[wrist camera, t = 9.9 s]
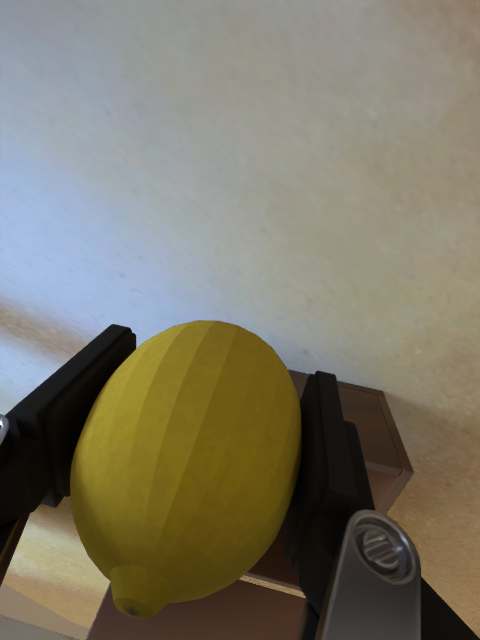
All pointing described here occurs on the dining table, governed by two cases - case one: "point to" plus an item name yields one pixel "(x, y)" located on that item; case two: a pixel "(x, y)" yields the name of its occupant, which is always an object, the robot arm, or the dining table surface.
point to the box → (380, 460)
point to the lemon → (186, 465)
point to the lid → (208, 617)
